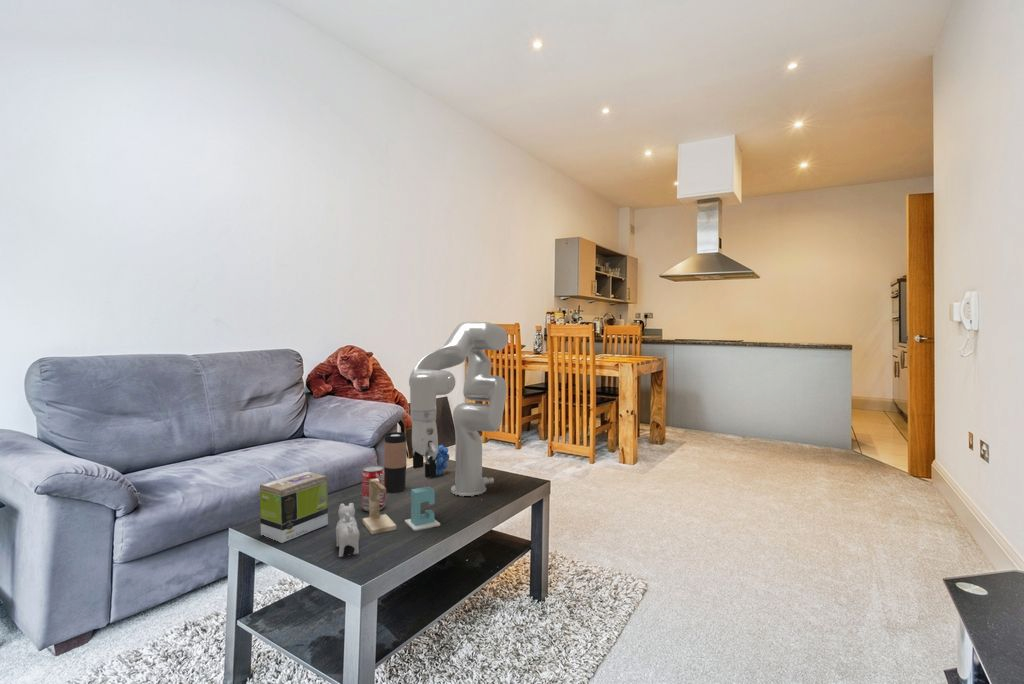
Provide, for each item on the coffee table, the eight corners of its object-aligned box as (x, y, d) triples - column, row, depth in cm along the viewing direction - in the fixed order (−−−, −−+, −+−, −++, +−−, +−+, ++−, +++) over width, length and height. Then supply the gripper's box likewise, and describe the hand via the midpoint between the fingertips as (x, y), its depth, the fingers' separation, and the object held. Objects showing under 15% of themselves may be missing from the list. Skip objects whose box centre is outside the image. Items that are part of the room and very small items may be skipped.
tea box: (306, 518, 147) (306, 470, 146) (328, 525, 142) (328, 475, 141) (258, 536, 134) (259, 482, 133) (281, 544, 129) (281, 489, 128)
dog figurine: (354, 536, 134) (354, 498, 134) (361, 555, 123) (361, 513, 123) (333, 539, 132) (333, 500, 132) (339, 559, 120) (339, 516, 120)
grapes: (440, 470, 199) (440, 441, 199) (453, 473, 195) (453, 443, 195) (420, 477, 190) (420, 446, 190) (432, 480, 186) (432, 449, 186)
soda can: (378, 513, 151) (378, 472, 151) (357, 511, 153) (357, 470, 152) (388, 505, 158) (389, 466, 158) (368, 503, 160) (368, 464, 159)
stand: (385, 517, 148) (385, 477, 148) (396, 529, 139) (396, 486, 139) (362, 521, 144) (362, 480, 144) (372, 534, 135) (372, 490, 135)
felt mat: (429, 516, 149) (429, 515, 149) (440, 525, 142) (440, 523, 142) (404, 521, 145) (404, 520, 145) (414, 531, 138) (414, 529, 138)
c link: (430, 517, 147) (430, 486, 147) (434, 521, 144) (434, 489, 143) (410, 521, 144) (411, 489, 143) (415, 525, 140) (415, 492, 140)
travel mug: (380, 489, 175) (380, 433, 174) (399, 484, 180) (399, 431, 179) (390, 494, 169) (390, 437, 169) (409, 489, 174) (410, 434, 174)
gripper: (447, 418, 138) (447, 478, 139) (424, 409, 152) (425, 462, 153) (422, 422, 134) (423, 482, 135) (401, 411, 149) (402, 466, 149)
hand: (424, 472), depth 144 cm, fingers open, 9 cm apart
